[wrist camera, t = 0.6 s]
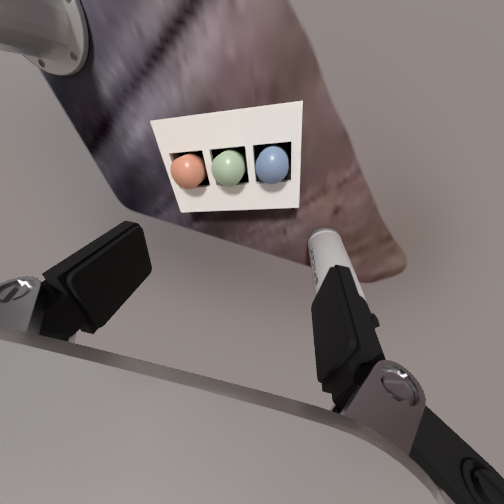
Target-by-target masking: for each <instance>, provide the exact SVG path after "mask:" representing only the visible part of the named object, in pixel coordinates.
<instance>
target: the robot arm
mask: <svg viewBox="0 0 504 504" xmlns="http://www.w3.org/2000/svg"><path fill="white" fill-rule="evenodd" d="M88 46H89V37H88V30H87V24H86V20H85V16H84V12H83V9H82V6H81V3H80V1H79V0H0V50H3V51H8V52H13V53H18V54H22V55H23V56H24V57H26V58H27V59H28V60H29V61H30V62H31V63H33V64H34V65H36V66H37V67H39V68H40V69H42V70H44V71H46V72H49V73H51V74H56V75H63V76H68V75H73V74H75V73H77V72H79V71H80V69H81V68H82V67H83V66H84V64H85V61H86V59H87V54H88ZM151 270H152V266H151V262H150V258H149V253H148V249H147V245H146V240H145V236H144V232H143V229H142V228H141V227H140V225H139V224H138V223H134V222H128V221H124V222H122V223H121V224H119V225H117V226H116V227H114V228H113V229H111V230H110V231H108V232H107V233H105V234H103V235H102V236H100V237H99V238H97V239H96V240H94V241H93V242H91V243H89V244H88V245H86V246H85V247H83V248H82V249H80V250H78V251H77V252H75V253H74V254H72V255H71V256H69V257H68V258H66V259H64V260H63V261H61V262H60V263H58V264H57V265H55V266H53V267H52V268H50V269H49V270H47V271H46V272H44V273H43V274H42V275H43V276H44V278H45V279H46V280H45V281H43V282H41V281H40V280H39V279H38V278H35V277H28V276H26V277H18V278H15V279H11V280H8V281H5V282H3V283H1V284H0V504H504V479H503V478H502V477H501V476H500V474H499V473H498V472H496V470H495V469H494V468H493V467H492V466H491V465H489V463H487V462H486V461H485V460H484V459H483V458H482V457H481V456H480V455H479V454H478V453H477V452H475V451H474V450H473V449H472V448H471V447H470V446H469V445H468V444H467V443H466V442H465V441H464V440H463V439H461V438H460V437H459V436H458V435H457V434H456V433H455V432H454V431H453V430H452V429H451V428H450V427H448V426H447V425H446V424H445V423H444V422H443V421H442V420H441V419H440V418H439V417H438V416H437V415H436V414H434V413H433V412H432V411H431V410H430V409H429V408H428V407H427V406H426V405H425V404H426V398H425V394H424V391H423V389H422V387H421V386H420V384H419V382H418V381H417V380H416V378H415V377H414V376H413V375H412V374H411V373H410V372H409V371H408V370H407V369H406V368H404V367H403V366H401V365H400V364H398V363H396V362H393V361H389V360H386V359H385V357H384V354H383V351H382V348H381V346H380V343H379V340H378V337H377V335H376V332H375V329H374V327H373V324H372V321H371V319H370V316H369V313H368V310H367V308H366V305H365V303H364V301H363V300H362V299H361V298H360V295H359V293H358V290H357V287H356V284H355V281H354V279H353V276H352V273H351V270H350V268H349V267H346V266H341V265H335V266H334V267H330V268H329V270H328V272H327V274H326V276H325V278H324V280H323V282H322V284H321V287H320V289H319V291H318V293H317V295H316V297H315V299H314V301H313V303H312V308H311V312H312V321H313V322H312V323H313V334H314V346H315V357H316V368H317V378H318V381H319V382H320V383H322V390H323V392H327V393H331V394H332V399H333V402H334V403H335V404H334V405H333V407H332V408H331V409H330V411H329V410H326V409H323V408H320V407H317V406H314V405H310V404H307V403H303V402H300V401H296V400H292V399H289V398H285V397H282V396H278V395H274V394H271V393H267V392H263V391H259V390H255V389H252V388H248V387H244V386H240V385H236V384H232V383H228V382H225V381H221V380H217V379H213V378H209V377H205V376H201V375H198V374H194V373H190V372H186V371H182V370H178V369H174V368H170V367H166V366H162V365H158V364H154V363H151V362H147V361H143V360H138V359H135V358H131V357H127V356H122V355H119V354H115V353H111V352H107V351H103V350H99V349H95V348H91V347H87V346H82V345H79V344H75V337H76V332H77V331H78V330H79V329H81V331H83V332H87V333H91V334H94V333H95V332H96V330H97V329H98V328H100V327H102V326H104V325H105V324H106V322H107V321H108V320H109V319H110V318H111V317H112V316H113V315H114V314H115V312H116V311H117V310H118V309H119V308H120V307H121V306H122V304H123V303H124V302H125V301H126V300H127V299H128V298H129V297H130V296H131V295H132V293H133V292H134V291H135V290H136V289H137V288H138V287H139V286H140V284H141V283H142V282H143V281H144V280H145V279H146V278H147V276H148V275H149V274H150V273H151Z"/></svg>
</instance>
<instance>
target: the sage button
mask: <svg viewBox="0 0 504 504" xmlns="http://www.w3.org/2000/svg"><path fill="white" fill-rule="evenodd" d="M246 169H247V162H246V158H245V156H244V155H243V154H242V153H241V152H240V151H239V150H237V149H227V150H225V151H223V152H222V153H221V154H219V155H218V156H216V157H215V159H214V160H213V162H212V166H211V171H212V175H213V177H214V179H215V180H216V181H217V182H218V183H219V184H221V185H223V186H226V187H232V186H234V185H236V184H237V183H238V182H239V181H240V180H241V178H242V177H243V175H244V173H245V172H246Z"/></svg>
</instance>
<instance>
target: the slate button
mask: <svg viewBox="0 0 504 504" xmlns="http://www.w3.org/2000/svg"><path fill="white" fill-rule="evenodd" d="M288 167H289V164H288V155H287V152H286V151H285V149H284V148H283V147H281V146H279V145H276V144H272V145H269V146H267V147H265V148H264V149H263V150H262V151H261V153H260V155H259V157H258V158H257V161H256V165H255V169H256V173H257V176H258V177H259V179H260V180H261V181H263V182H265V183H267V184H276V183H279V182H280V181H282V180H283V179H284V178H285V176H286V175H287V172H288Z"/></svg>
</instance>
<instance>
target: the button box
mask: <svg viewBox="0 0 504 504" xmlns="http://www.w3.org/2000/svg"><path fill="white" fill-rule="evenodd" d="M302 107H303V101H296V102H289V103H281V104H274V105H266V106H259V107H251V108H244V109H236V110H229V111H221V112H214V113H206V114H199V115H191V116H184V117H176V118H168V119H161V120H153V121H150V122H151V125H152V128H153V131H154V134H155V137H156V140H157V143H158V146H159V149H160V152H161V155H162V158H163V161H164V164H165V167H166V169H167V172H168V175H169V178H170V181H171V184H172V187H173V190H174V193H175V196H176V199H177V202H178V205H179V208H180V211H181V212H204V211H229V210H254V209H278V208H299V190H300V162H301V134H302ZM281 142H291V180H282V181H280V182H279V183H276V184H267V183H265V182H263V181H262V182H257V177H256V169H255V155H254V145H260V144H271V143H281ZM240 146H245V150H246V159H247V168H248V177H249V182H247V183H237V184H236V185H234V186H232V187H226V186H223V185H221V184H218V182H217V181H216V180H215V179H214V177H213V175H212V171H211V166H212V162H213V155H212V150H211V149H220V148H230V147H240ZM199 150H202V152H203V156H204V161H205V165H206V169H207V174H208V178H209V183H210V185H201V186H196V187H195V188H193V189H184V188H182V187H180V186H179V185H177V184H176V182H175V181H174V180H173V178H172V176H171V171H170V168H171V164H172V162H173V161H174V160H175V159H177V158H179V157H180V156H179V152H189V151H199Z"/></svg>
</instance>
